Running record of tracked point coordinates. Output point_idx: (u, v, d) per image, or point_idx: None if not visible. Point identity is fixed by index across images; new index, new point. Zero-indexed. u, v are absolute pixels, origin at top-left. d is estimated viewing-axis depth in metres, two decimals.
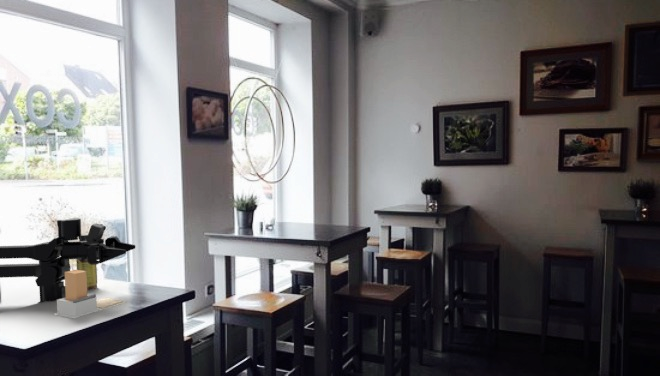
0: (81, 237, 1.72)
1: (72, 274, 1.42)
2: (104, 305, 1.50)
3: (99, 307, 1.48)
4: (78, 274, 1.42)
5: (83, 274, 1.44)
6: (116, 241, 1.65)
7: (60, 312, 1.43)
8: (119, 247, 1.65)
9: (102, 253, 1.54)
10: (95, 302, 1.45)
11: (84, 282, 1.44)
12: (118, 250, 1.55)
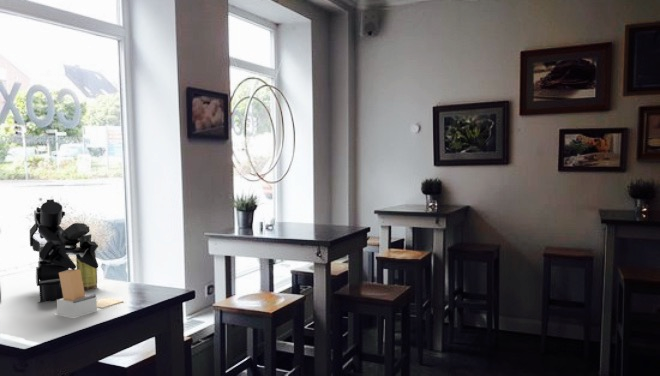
0: (81, 237, 1.72)
1: (66, 273, 1.42)
2: (104, 305, 1.50)
3: (99, 307, 1.48)
4: (72, 273, 1.42)
5: (77, 272, 1.43)
6: (89, 250, 1.56)
7: (60, 312, 1.43)
8: (87, 257, 1.56)
9: (56, 254, 1.45)
10: (95, 302, 1.45)
11: (79, 280, 1.44)
12: (70, 262, 1.45)
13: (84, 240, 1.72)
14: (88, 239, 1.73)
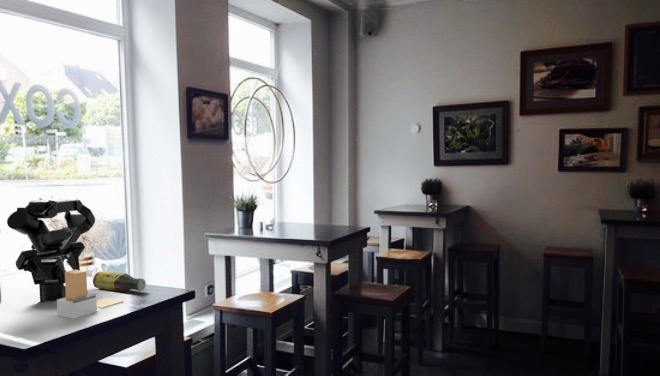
0: (136, 283, 1.67)
1: (72, 274, 1.42)
2: (104, 305, 1.50)
3: (99, 307, 1.48)
4: (78, 274, 1.42)
5: (83, 274, 1.44)
6: (73, 253, 1.52)
7: (60, 312, 1.43)
8: (71, 260, 1.52)
9: (32, 264, 1.42)
10: (95, 302, 1.45)
11: (84, 282, 1.44)
12: (45, 273, 1.42)
13: (133, 286, 1.67)
14: (135, 289, 1.68)
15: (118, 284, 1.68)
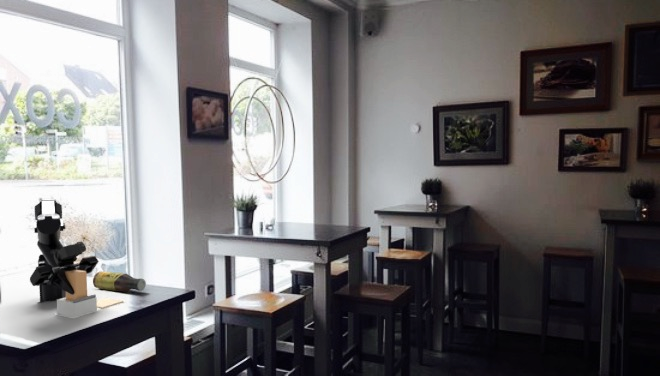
0: (136, 283, 1.67)
1: (72, 274, 1.42)
2: (104, 305, 1.50)
3: (99, 307, 1.48)
4: (78, 274, 1.42)
5: (83, 274, 1.44)
6: None
7: (60, 312, 1.43)
8: None
9: (56, 278, 1.42)
10: (95, 302, 1.45)
11: (84, 282, 1.44)
12: (69, 287, 1.42)
13: (133, 286, 1.67)
14: (135, 289, 1.68)
15: (118, 284, 1.68)
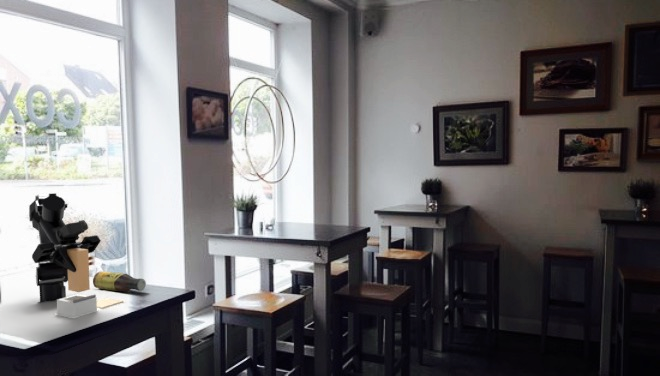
0: (136, 283, 1.67)
1: (74, 252, 1.43)
2: (104, 305, 1.50)
3: (99, 307, 1.48)
4: (80, 252, 1.43)
5: (85, 252, 1.44)
6: (81, 248, 1.48)
7: (60, 312, 1.43)
8: None
9: (58, 255, 1.43)
10: (95, 302, 1.45)
11: (86, 260, 1.44)
12: (71, 265, 1.43)
13: (133, 286, 1.67)
14: (135, 289, 1.68)
15: (118, 284, 1.68)
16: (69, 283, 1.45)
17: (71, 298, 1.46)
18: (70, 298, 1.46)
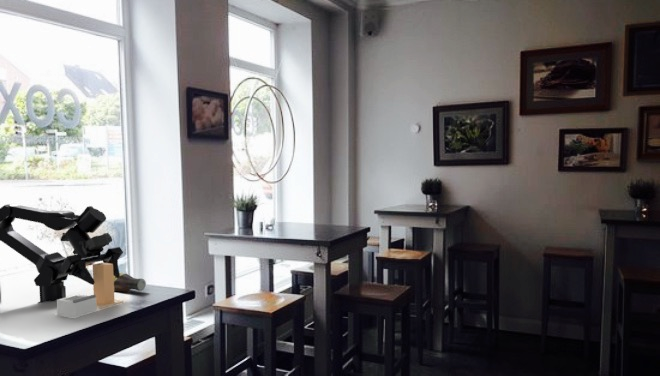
0: (136, 283, 1.67)
1: (100, 266, 1.50)
2: (104, 305, 1.50)
3: (99, 307, 1.48)
4: (106, 266, 1.50)
5: (110, 266, 1.52)
6: (112, 258, 1.57)
7: (60, 312, 1.43)
8: None
9: (77, 268, 1.48)
10: (95, 302, 1.45)
11: (111, 274, 1.52)
12: (89, 277, 1.48)
13: (133, 286, 1.67)
14: (135, 289, 1.68)
15: (118, 284, 1.68)
16: None
17: (71, 298, 1.46)
18: (70, 298, 1.46)
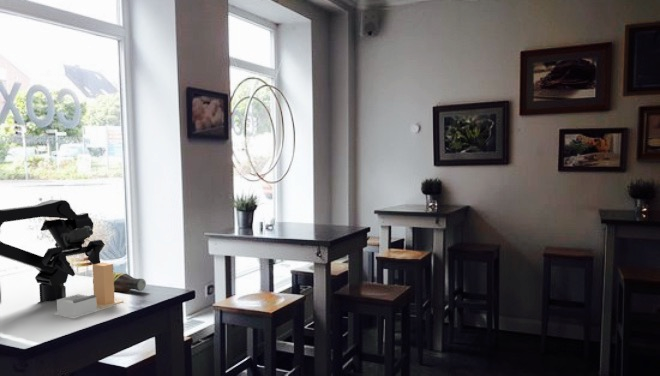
0: (136, 283, 1.67)
1: (100, 266, 1.50)
2: (104, 305, 1.50)
3: (99, 307, 1.48)
4: (106, 266, 1.50)
5: (110, 266, 1.52)
6: (94, 250, 1.62)
7: (60, 312, 1.43)
8: (92, 257, 1.62)
9: (58, 260, 1.52)
10: (95, 302, 1.45)
11: (111, 274, 1.52)
12: (69, 269, 1.52)
13: (133, 286, 1.67)
14: (135, 289, 1.68)
15: (118, 284, 1.68)
16: None
17: (71, 298, 1.46)
18: (70, 298, 1.46)
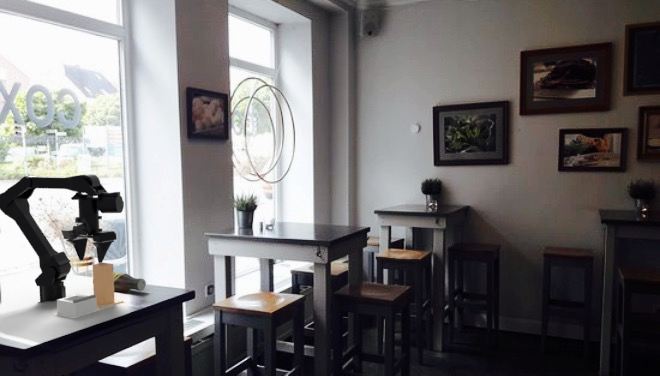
0: (136, 283, 1.67)
1: (100, 266, 1.50)
2: (104, 305, 1.50)
3: (99, 307, 1.48)
4: (106, 266, 1.50)
5: (110, 266, 1.52)
6: None
7: (60, 312, 1.43)
8: None
9: None
10: (95, 302, 1.45)
11: (111, 274, 1.52)
12: None
13: (133, 286, 1.67)
14: (135, 289, 1.68)
15: (118, 284, 1.68)
16: None
17: (71, 298, 1.46)
18: (70, 298, 1.46)
